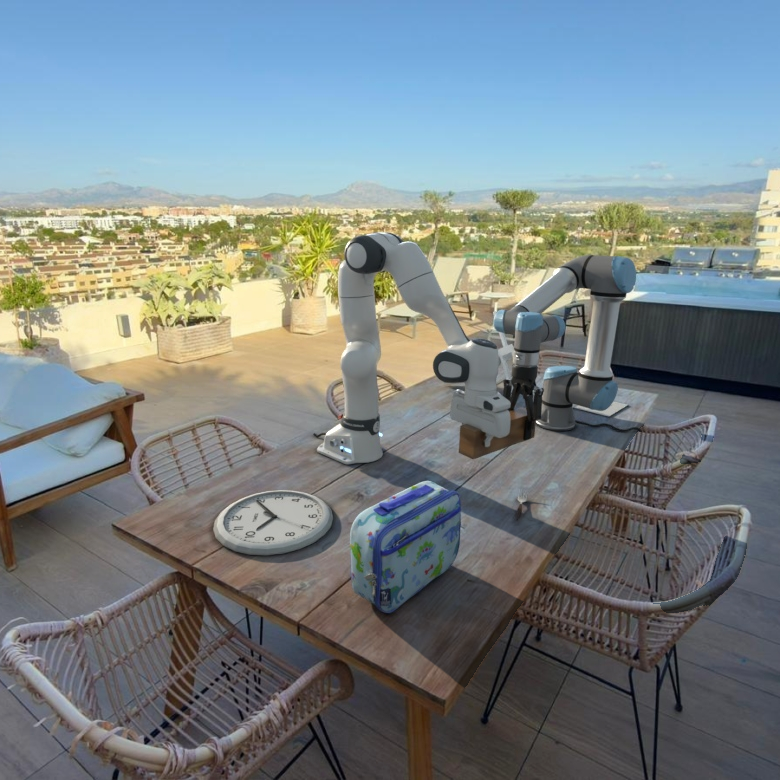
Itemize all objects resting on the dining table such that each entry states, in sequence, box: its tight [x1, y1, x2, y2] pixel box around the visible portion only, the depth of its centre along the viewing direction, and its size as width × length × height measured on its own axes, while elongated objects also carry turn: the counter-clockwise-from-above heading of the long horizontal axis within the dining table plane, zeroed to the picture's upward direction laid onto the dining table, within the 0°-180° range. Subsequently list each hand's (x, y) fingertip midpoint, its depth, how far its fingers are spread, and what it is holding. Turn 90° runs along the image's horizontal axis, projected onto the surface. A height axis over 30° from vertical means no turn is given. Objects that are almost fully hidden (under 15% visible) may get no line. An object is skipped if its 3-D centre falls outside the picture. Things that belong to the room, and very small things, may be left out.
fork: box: [516, 487, 529, 521], centre depth 143 cm, size 3×16×2 cm, turn 160°
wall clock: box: [212, 489, 334, 556], centre depth 134 cm, size 30×2×30 cm
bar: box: [458, 406, 537, 460], centre depth 157 cm, size 28×6×8 cm, turn 128°
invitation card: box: [573, 400, 629, 418], centre depth 226 cm, size 21×1×15 cm
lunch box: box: [349, 480, 462, 614], centre depth 109 cm, size 26×11×21 cm, turn 134°
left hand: (476, 442), depth 151 cm, fingers closed on bar, 6 cm apart
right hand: (518, 435), depth 164 cm, fingers open, 6 cm apart
